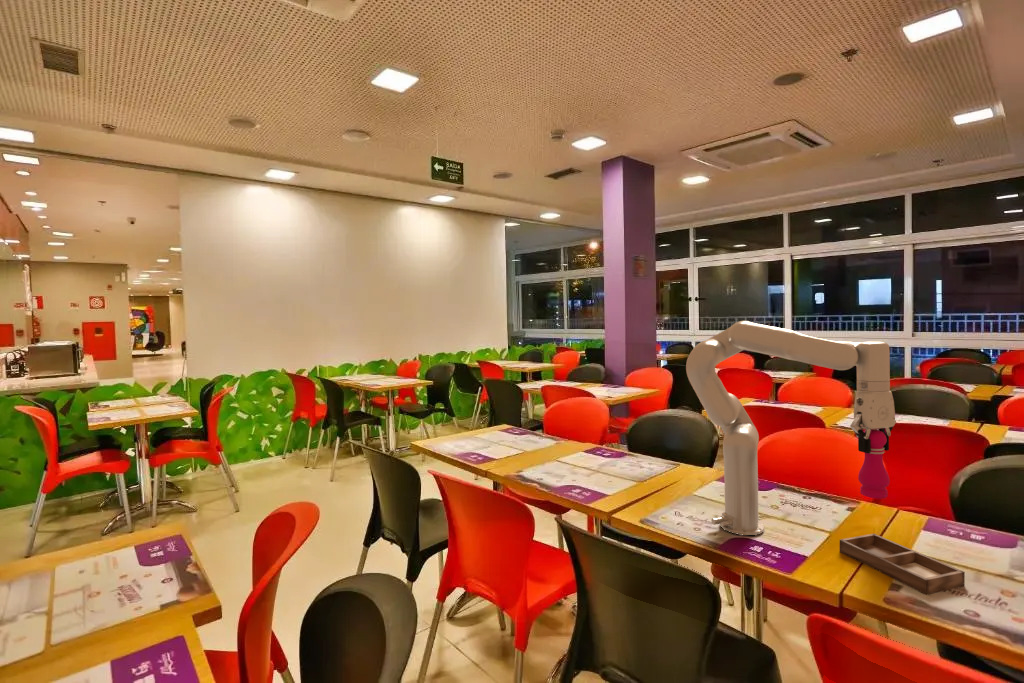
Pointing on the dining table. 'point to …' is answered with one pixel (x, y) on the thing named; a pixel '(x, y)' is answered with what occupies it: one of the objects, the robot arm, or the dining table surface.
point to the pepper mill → (874, 468)
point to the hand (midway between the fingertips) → (873, 450)
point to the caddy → (903, 564)
